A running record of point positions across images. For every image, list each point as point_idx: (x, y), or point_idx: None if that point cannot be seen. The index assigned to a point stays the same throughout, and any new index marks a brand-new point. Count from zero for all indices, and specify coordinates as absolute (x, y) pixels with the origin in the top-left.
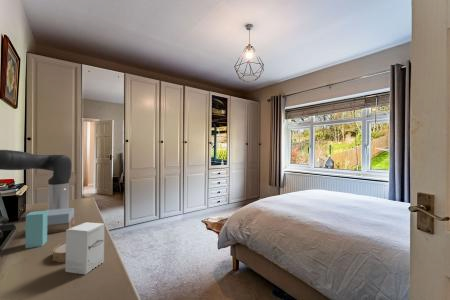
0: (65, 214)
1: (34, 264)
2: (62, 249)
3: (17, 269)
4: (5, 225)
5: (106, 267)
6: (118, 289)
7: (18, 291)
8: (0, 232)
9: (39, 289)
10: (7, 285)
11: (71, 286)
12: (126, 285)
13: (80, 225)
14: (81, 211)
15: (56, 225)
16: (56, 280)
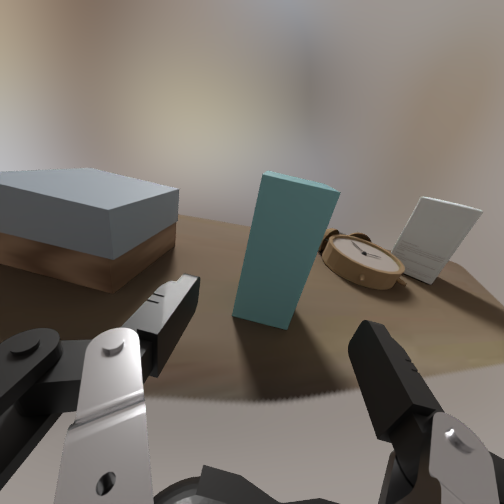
0: (174, 192)
1: (411, 314)
2: (377, 265)
3: (448, 342)
4: (178, 312)
5: None
6: (452, 265)
7: None
8: (382, 328)
9: (497, 312)
10: None
11: (467, 287)
12: None
13: (449, 202)
14: None
15: (155, 238)
16: (460, 295)
